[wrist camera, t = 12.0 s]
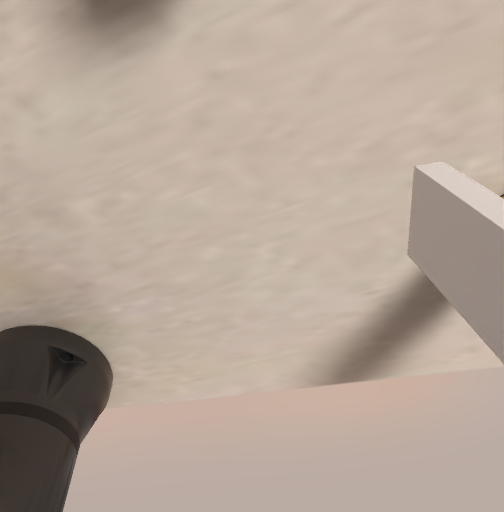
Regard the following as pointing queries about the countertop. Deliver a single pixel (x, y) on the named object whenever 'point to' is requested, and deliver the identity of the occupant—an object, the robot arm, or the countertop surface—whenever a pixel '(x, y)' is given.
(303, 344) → the countertop surface
